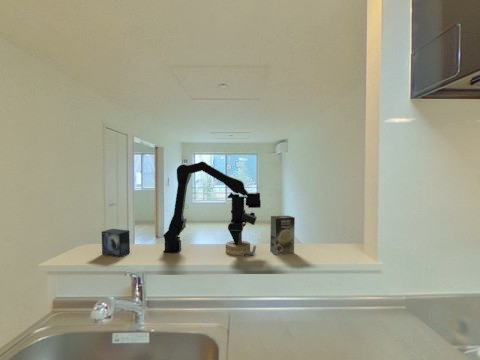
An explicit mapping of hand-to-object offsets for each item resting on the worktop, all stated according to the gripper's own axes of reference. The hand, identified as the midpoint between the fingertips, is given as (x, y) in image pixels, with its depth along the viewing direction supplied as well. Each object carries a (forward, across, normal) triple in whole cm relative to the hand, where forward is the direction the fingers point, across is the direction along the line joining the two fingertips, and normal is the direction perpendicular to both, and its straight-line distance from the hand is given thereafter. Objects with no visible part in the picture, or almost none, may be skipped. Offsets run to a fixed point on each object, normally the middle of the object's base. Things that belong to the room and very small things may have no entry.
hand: (237, 241), depth 129 cm
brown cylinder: (+4, 0, 0) cm, 4 cm away
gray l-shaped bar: (+4, +1, -5) cm, 7 cm away
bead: (+4, 0, 0) cm, 4 cm away
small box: (+5, -11, +53) cm, 54 cm away
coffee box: (+4, +1, -20) cm, 21 cm away
